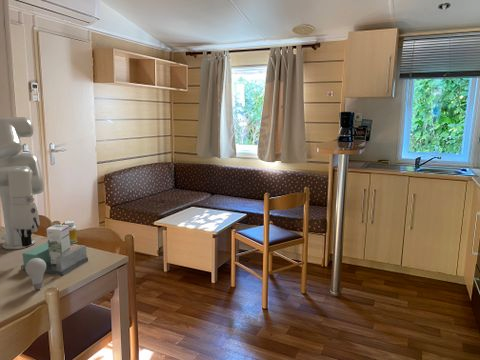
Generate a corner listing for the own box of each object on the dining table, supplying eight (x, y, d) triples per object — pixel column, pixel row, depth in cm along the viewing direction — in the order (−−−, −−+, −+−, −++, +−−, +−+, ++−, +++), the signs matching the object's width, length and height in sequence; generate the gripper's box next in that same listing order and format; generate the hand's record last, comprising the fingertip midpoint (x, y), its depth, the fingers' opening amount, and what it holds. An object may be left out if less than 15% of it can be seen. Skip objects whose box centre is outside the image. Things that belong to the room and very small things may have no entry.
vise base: (21, 269, 139) (19, 253, 138) (49, 255, 152) (47, 241, 151) (63, 275, 134) (61, 258, 133) (88, 260, 147) (86, 245, 146)
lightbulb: (52, 286, 126) (49, 256, 124) (37, 294, 120) (34, 263, 118) (39, 283, 128) (35, 254, 126) (23, 291, 122) (20, 260, 120)
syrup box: (72, 259, 145) (69, 224, 142) (63, 265, 139) (59, 229, 136) (58, 258, 146) (55, 223, 143) (49, 264, 140) (45, 228, 137)
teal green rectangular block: (23, 265, 138) (22, 253, 137) (51, 252, 152) (50, 240, 151) (36, 267, 137) (35, 255, 136) (63, 253, 150) (62, 242, 149)
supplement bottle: (78, 242, 168) (77, 222, 166) (66, 245, 164) (64, 224, 163) (75, 239, 172) (74, 219, 170) (63, 241, 169) (61, 221, 167)
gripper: (45, 199, 143) (49, 243, 146) (14, 197, 147) (19, 241, 150) (29, 203, 136) (34, 250, 139) (-2, 201, 140) (3, 247, 143)
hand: (27, 245), depth 145 cm, fingers closed
